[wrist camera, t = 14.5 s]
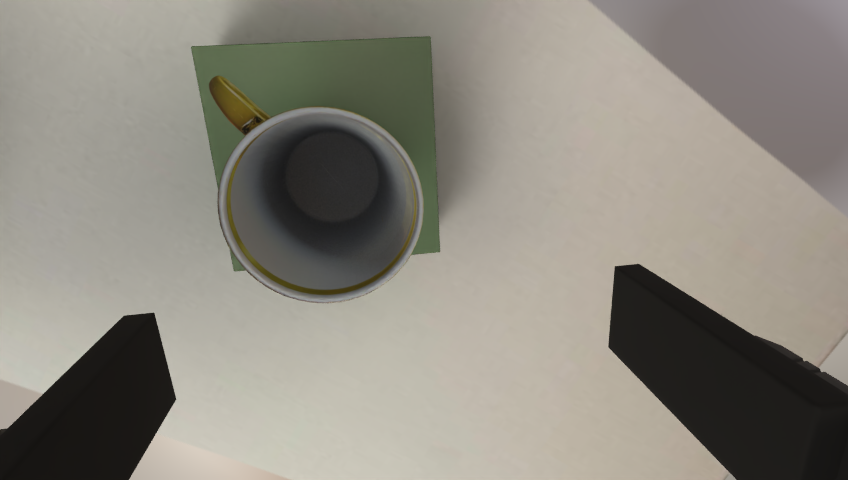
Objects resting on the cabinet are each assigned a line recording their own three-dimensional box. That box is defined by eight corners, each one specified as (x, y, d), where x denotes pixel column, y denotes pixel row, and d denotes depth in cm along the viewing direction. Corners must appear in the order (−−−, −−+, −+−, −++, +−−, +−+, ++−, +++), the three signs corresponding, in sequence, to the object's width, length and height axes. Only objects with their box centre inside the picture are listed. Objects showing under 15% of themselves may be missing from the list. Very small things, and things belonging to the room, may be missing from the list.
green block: (248, 249, 39) (233, 271, 34) (213, 52, 34) (190, 46, 29) (430, 232, 40) (440, 252, 35) (420, 42, 36) (430, 36, 31)
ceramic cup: (433, 185, 34) (462, 222, 24) (327, 271, 35) (316, 339, 25) (308, 28, 30) (285, 0, 20) (191, 130, 31) (117, 149, 21)
